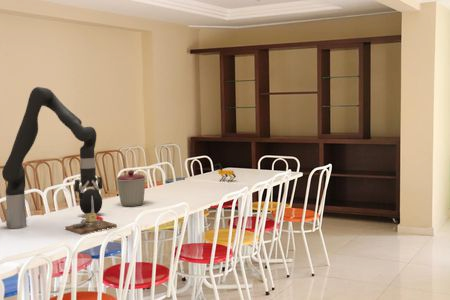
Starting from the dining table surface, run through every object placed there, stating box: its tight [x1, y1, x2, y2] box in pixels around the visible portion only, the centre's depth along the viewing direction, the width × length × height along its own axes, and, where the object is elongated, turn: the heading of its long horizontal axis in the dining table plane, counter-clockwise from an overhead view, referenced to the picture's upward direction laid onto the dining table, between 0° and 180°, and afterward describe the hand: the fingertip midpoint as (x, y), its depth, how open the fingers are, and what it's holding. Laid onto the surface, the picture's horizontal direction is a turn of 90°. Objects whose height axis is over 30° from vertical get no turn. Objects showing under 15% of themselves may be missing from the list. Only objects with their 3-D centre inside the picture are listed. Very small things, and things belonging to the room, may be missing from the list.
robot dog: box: [213, 162, 237, 183], centre depth 439 cm, size 6×18×13 cm, turn 55°
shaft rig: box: [65, 218, 118, 236], centre depth 301 cm, size 20×16×4 cm
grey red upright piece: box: [91, 196, 104, 221], centre depth 319 cm, size 8×13×9 cm
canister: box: [115, 169, 147, 207], centre depth 358 cm, size 18×18×21 cm
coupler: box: [84, 213, 98, 223], centre depth 301 cm, size 4×4×6 cm
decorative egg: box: [79, 188, 103, 215], centre depth 332 cm, size 12×12×15 cm
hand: (89, 198), depth 299 cm, fingers open, 8 cm apart
